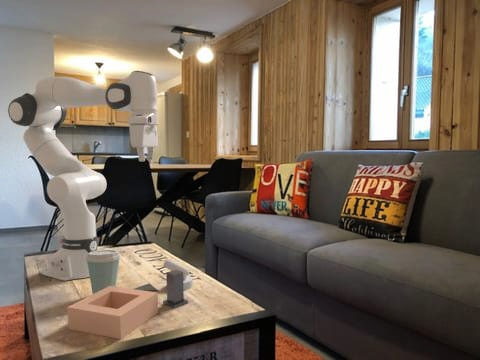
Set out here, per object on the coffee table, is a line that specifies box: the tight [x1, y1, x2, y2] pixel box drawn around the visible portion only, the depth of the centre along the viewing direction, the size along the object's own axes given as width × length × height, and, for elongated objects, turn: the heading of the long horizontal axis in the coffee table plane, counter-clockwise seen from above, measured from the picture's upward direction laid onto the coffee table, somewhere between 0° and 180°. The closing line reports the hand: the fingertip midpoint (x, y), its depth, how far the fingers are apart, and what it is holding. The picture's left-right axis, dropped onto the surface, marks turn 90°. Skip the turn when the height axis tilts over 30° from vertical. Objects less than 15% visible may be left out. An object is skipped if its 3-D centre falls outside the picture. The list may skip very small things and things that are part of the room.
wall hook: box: [163, 258, 194, 291], centre depth 137 cm, size 9×10×10 cm
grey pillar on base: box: [162, 270, 189, 310], centre depth 122 cm, size 5×5×10 cm
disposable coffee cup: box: [86, 249, 122, 295], centre depth 128 cm, size 11×11×15 cm
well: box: [66, 286, 159, 340], centre depth 110 cm, size 17×17×6 cm
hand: (146, 160), depth 135 cm, fingers open, 8 cm apart
